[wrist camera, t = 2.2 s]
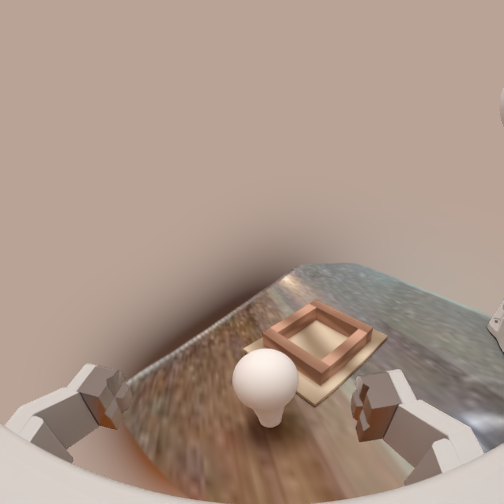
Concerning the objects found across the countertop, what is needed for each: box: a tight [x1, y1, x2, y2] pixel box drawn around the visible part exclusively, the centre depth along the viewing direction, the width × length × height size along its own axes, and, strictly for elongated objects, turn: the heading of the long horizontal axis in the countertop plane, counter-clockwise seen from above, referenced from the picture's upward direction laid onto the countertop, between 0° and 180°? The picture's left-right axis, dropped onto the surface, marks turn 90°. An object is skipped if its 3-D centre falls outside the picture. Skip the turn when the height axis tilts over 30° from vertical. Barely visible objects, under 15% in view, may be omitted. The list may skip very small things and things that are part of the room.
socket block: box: [244, 300, 387, 407], centre depth 37 cm, size 16×14×3 cm
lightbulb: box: [232, 349, 299, 428], centre depth 25 cm, size 6×6×11 cm
